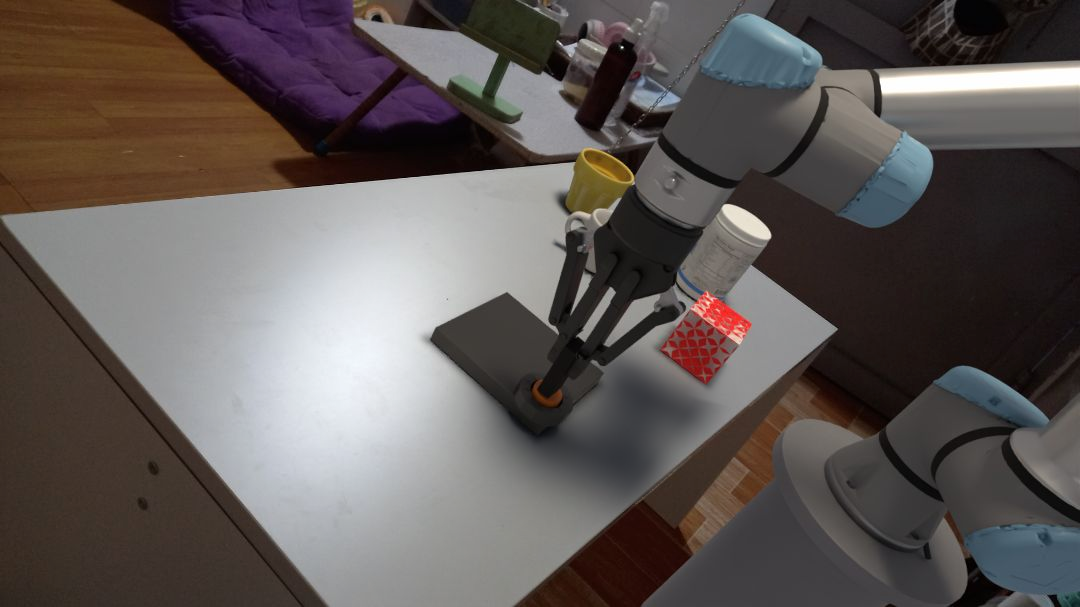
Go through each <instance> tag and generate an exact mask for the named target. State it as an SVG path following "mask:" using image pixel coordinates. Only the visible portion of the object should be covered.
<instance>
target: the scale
mask: <svg viewBox="0 0 1080 607" xmlns="http://www.w3.org/2000/svg"><path fill="white" fill-rule="evenodd" d="M558 336H559V333H557V331H555V330H554V329H552V328H551V326H549V325H547V324H546V323H545V322H544V321H542V319H540V318H539V317H538V316H537V315H536V314H534V313H533V312H532V311H531V310H530V309H528V308H527V306H525V305H523V304H522V303H521V302H520V301H519V300H517V299H516V298H515V297H514V296H513V295H511V294H510V293H509V292H508V291H506V292H505V293H502V294H500V295H498V296H496V297H494V298H492V299H490V300H488V301H486V302H484V303H482V304H480V305H478V306H476V307H474V308H472V309H470V310H468V311H465V312H464V313H462V314H460V315H458V316H455V317H453V318H451V319H449V320H448V321H446V322H444V323H441V324H440V325H437V326H435V328H434V330H433V332H432V334H431V336H430V338H429V339H430V341H431V342H432V343H433V344H434V345H436V346H437V347H438V348H439V350H441V351H442V352H443V353H445V354H446V355H447V356H448V357H449V358H450V359H451V360H452V361H454V362H455V363H456V364H457V365H458V366H459V367H460V368H461V369H463V371H464V372H466V373H467V374H468V375H469V376H470V377H471V378H473V380H475V381H476V382H477V383H478V385H480V386H481V387H483V388H484V389H485V390H486V391H487V392H488V393H489V394H490V395H492V396H493V397H494V398H495V399H496V400H497V401H498V402H499V403H500V404H501V405H502V406H503V407H505V408H506V409H507V410H508V411H509V412H510V413H512V414H513V415H514V416H515V417H516V418H517V419H518V420H519V421H520V422H521V423H522V424H523V425H525V426H526V427H527V428H528V429H529V430H530V431H531V432H533V433H534V434H535V435H536V436H539V435H540V434H542V433H543V431H544V430H546V429H547V428H548V427H558V426H560V425H561V424H562V423H564V422H565V421H566V420H567V418H568V417H569V416H570V414H571V413H572V411H573V405H574V404H575V403H577V402H578V401H579V400H580V399H581V398H582V397H583V396H585V395H586V394H587V393H588V392H589V391H590V390H592V389H593V388H594V387H595V386H596V385H597V384H598V383H599V382H600V380H601V379H602V378H603V376H604V374H605V372H604V371H603V370H602V369H601V368H599V367H598V366H597V365H596V364H594V363H593V362H592V361H591V362H590V364H589V365H588V366H587V368H586V369H585V371H584V372H583V373H582V374H581V375H580V376H579V377H578V378H576V379H574V380H572V379H570V378H569V377H568V378H567V380H566V381H565V383H564V384H563V386H562V387H561V388H560V390H561V392H562V399H561V401H560V403H559V404H558V406H557V407H556V408H549V407H546V406H544V405H541V404H540V403H539V402H538V401H537V400H536V399H534V397H533V395H532V393H531V390H532V388H533V386H534V385H535V383H536V382H537V381H539V380H543V379H544V377H545V376H546V374H547V373H548V371H549V370H550V368H551V366H552V365H553V363H551V362H550V361H549V360H548V359H547V356H548V353H549V351H550V350H551V348H552V346H553V345H554V343H555V342H556V340H557V338H558Z"/></svg>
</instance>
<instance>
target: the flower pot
mask: <svg viewBox="0 0 1080 607" xmlns="http://www.w3.org/2000/svg"><path fill="white" fill-rule="evenodd" d="M576 158H577V159H576V160H575V162H574V165H573V166H572V167H573V176H572V179H571V183H570V186H569V189H568V193H567V195H566V199H565V206H566V208H567V210H569V212H570V213H571V214H572V213H574V212H577V211H580V212H585V213H587V214H592V213H593V211H594V210H596V209H608V210H609V209H610V207H611V206H613V204H614V203H615V202H616V201H617V200H618V199H621V198H622V196H623V195H624V193H625V191H626V190H627V188H628V187H629V186H631V185H633V183H635V182H634V177H635V175H634V174H633V172H632V171H631V169H629V167H628V166H626V165H625V164H624V162H622V161H620V160H619V159H618V158H616V157H614V156H613V155H611V154H609V153H607V152H605V151H602V150H600V149H597V148H590V147H587V148H584V149H582V150H581V151H580V153H579V154H578V157H576Z"/></svg>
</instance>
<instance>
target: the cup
mask: <svg viewBox="0 0 1080 607" xmlns="http://www.w3.org/2000/svg"><path fill="white" fill-rule="evenodd" d="M613 211H614V210H611V209H609V208H608V209H596V210H594V211H593V213H592V214H587V213H585V212H580V211H577V212H574V213H572V212H571V214H570V215H569V216H568V218H567V219H566V222H565V224H564V232H565V235H566V234H567V233H568V232H569V231H572V223H573V222H574V220H576V219H580V220H581V221H582V222H583V226H584V227H586V228H587V229H588V230H596V229H597V228H599V227H600V226H602V225H604V224H605V223H606V222H607V221H608V220H609V218H610V216H611V215H612V213H613ZM585 269H586V270H588V271H589V272H590V273H591V272H592V274H593V273H594V274H595V273H596V268H595V254H594V245H593V249H592V250H591V251H589V255H588V259H587V263H586V266H585Z"/></svg>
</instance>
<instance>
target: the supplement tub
mask: <svg viewBox="0 0 1080 607" xmlns="http://www.w3.org/2000/svg"><path fill="white" fill-rule="evenodd" d="M771 239H772V233H771V231H770V229H769V228H768V226H767V225H766V224H765V223H764V222H763V221H762V220H760V219H759V218H758V217H757V216H756V215H754V214H753V213H751V212H749V211H748V210H746V209H744V208H742V207H740V206H737V205H734V204H729V203H725V204H724V205H723V207H722V208H721V210H720V211H719V212H718V214H717V215H716V217H715V218H714V219H713V221H712V222H711V223H710V225H708V226H705V228H703V235H702V236H701V238H700V239H699V241H698V242H697V243H696V245H695V246H694V248H693V249H692V250H691V252H690V253H689V255H688V256H687V258H686V259H685V260H684V262H683V263H682V265H681V266H680V268H679V269H678V272H677V280H676V284H678V286H679V287H680V288H681V290H682V291H684V293H686V294H687V295H688V296H690V298H692V299H694V300H695V301H696V302H697V301H698V300H699V299H700V297H701V296H702V295H703V294H704V293H705V292H706V291H707V292H709V293H710V294H712V295H713V296H714V297H716V298H717V299H718V300H720V301H721V302H723V301H724V300H725V299H726V298H727V296H728V294H729V293H730V292H731V291H732V289H733V288H734V287H735V286H736V285H737V283H738V282H739V281H740V279H741V278H742V277H743V276H744V274H745V273H746V272H747V271H748V269H749V268H750V267H751V266H752V264H753V263H754V262H755V261H756V259H757V258H758V257H759V256H760V254H761V253H762V252H763V250H765V248H766V247H767V245H768V243H769V241H770V240H771Z"/></svg>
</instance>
